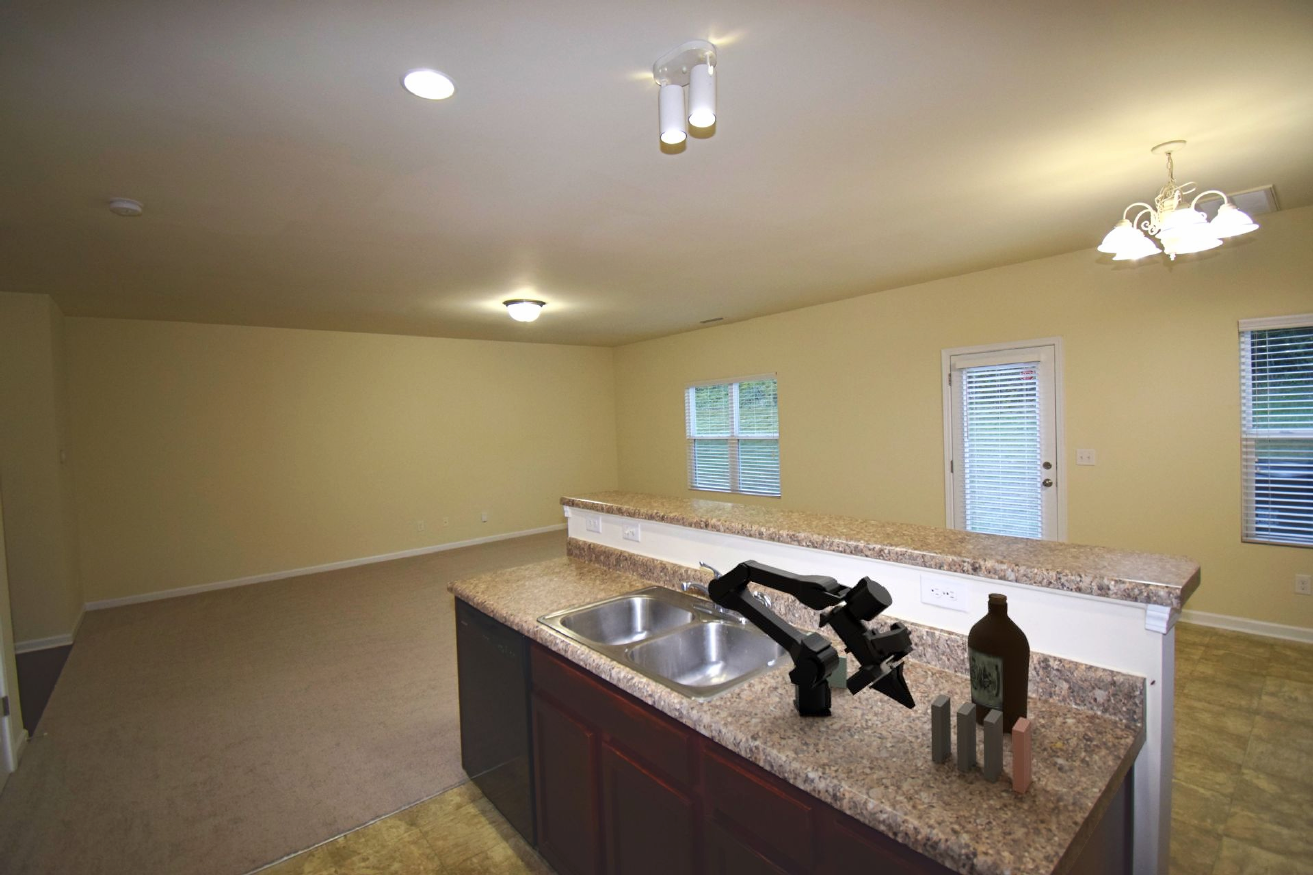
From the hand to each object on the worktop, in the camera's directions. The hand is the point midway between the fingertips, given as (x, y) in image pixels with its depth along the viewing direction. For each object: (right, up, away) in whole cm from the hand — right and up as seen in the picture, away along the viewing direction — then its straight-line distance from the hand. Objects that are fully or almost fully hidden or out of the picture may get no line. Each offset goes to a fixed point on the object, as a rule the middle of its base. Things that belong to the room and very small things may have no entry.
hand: (913, 707), depth 108 cm
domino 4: (+13, -7, -12) cm, 19 cm away
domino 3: (+10, -7, -9) cm, 15 cm away
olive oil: (+20, -7, +8) cm, 23 cm away
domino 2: (+7, -7, -6) cm, 11 cm away
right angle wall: (-7, -7, +32) cm, 33 cm away
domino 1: (+4, -7, -3) cm, 9 cm away
